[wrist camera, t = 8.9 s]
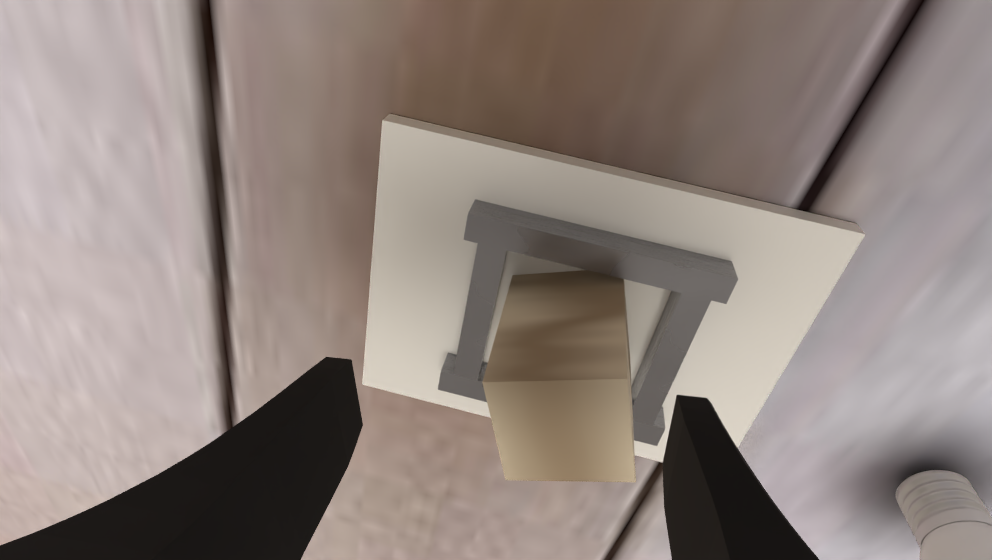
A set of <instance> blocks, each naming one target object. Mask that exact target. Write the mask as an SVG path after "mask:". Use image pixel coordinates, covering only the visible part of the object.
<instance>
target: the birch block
mask: <svg viewBox="0 0 992 560" xmlns="http://www.w3.org/2000/svg"><path fill="white" fill-rule="evenodd" d="M482 383H483V387H484V391H485V396H486V400H487V404H488V408H489V412H490V417H491V421H492V425H493V429H494V433H495V438H496V442H497V446H498V450H499V454H500V459H501V463H502V467H503V471H504V475H505V480H529V481H593V482H636V476H635V454H634V432H633V410H632V388H631V367H630V350H629V337H628V323H627V310H626V297H625V284H624V279H621V278H617V277H613V276H609V275H605V274H601V273H597V272H593V271H589V270H581V271H567V272H552V273H537V274H523V275H513V276H512V279H511V283H510V286H509V290H508V293H507V297H506V300H505V304H504V307H503V311H502V315H501V318H500V322H499V325H498V329H497V332H496V336H495V339H494V343H493V346H492V350H491V353H490V357H489V360H488V364H487V368H486V371H485V375H484V378H483V382H482Z"/></svg>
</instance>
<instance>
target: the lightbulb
mask: <svg viewBox="0 0 992 560" xmlns="http://www.w3.org/2000/svg"><path fill="white" fill-rule="evenodd" d="M895 496H896V500H897V502H898V505H899V507H900V509H901V510H902V512H903V515H904V517H905V518H906V519H907V523H908V525H909V527H910V528H911V529H912V533H913V535H914V536H915V538H916V541H917V543H918V545H919V547H920V560H992V517H991V516H990V513H989V511H988V510H987V508H986V507H985V506H984V504H983V502H982V500H981V499H980V498H979V497H978V495H977V493H976V491H975V490H974V489H973V488H972V485H971V483H970V482H969V481H968V479H966V478H965V477H964V476H962V475H960V474H958V473H955V472H952V471H946V470H929V471H924V472H920V473H917V474H914V475H912V476H910V477H908V478H907V479H905V480H904V481H903V482H902V483H901V484H900V485H899V487H898V488H897V490H896V495H895Z"/></svg>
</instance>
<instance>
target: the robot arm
mask: <svg viewBox="0 0 992 560" xmlns="http://www.w3.org/2000/svg"><path fill="white" fill-rule="evenodd" d="M362 426H363V423H362V418H361V412H360V406H359V400H358V394H357V389H356V383H355V377H354V371H353V366H352V360H350V359H341V358H332V357H326V358H324V359H323V360H322V361H320V362H319V363H318V364H316V365H315V366H314V367H312V368H311V369H310V370H308V371H307V372H306V373H305V374H303V375H302V376H301V377H300V378H298V379H297V380H296V381H294V382H293V383H292V384H291V385H289V386H288V387H287V388H285V389H284V390H283V391H282V392H280V393H279V394H278V395H276V396H275V397H274V398H272V399H271V400H270V401H268V402H267V403H266V404H264V405H263V406H262V407H261V408H259V409H258V410H257V411H255V412H254V413H253V414H251V415H250V416H248V417H247V418H245V419H244V420H243V421H241V422H240V423H238V424H237V425H235V426H234V427H232V428H231V429H230V430H228V431H227V432H225V433H224V434H222V435H221V436H220V437H218V438H217V439H215V440H214V441H212V442H211V443H209V444H208V445H206V446H205V447H203V448H202V449H200V450H198V451H197V452H195V453H194V454H192V455H190V456H189V457H187V458H185V459H184V460H182V461H180V462H178V463H177V464H175V465H173V466H172V467H170V468H168V469H167V470H165V471H163V472H161V473H160V474H158V475H156V476H154V477H152V478H150V479H148V480H146V481H144V482H142V483H140V484H139V485H137V486H135V487H133V488H131V489H129V490H127V491H125V492H123V493H121V494H119V495H117V496H115V497H113V498H111V499H110V500H107V501H105V502H103V503H101V504H99V505H97V506H95V507H92V508H90V509H88V510H86V511H84V512H82V513H79V514H77V515H75V516H73V517H70V518H68V519H66V520H63V521H61V522H59V523H56V524H54V525H52V526H49V527H47V528H45V529H42V530H40V531H37V532H35V533H32V534H30V535H27V536H24V537H22V538H19V539H16V540H14V541H11V542H8V543H6V544H3V545H1V546H0V560H301V558H302V556H303V553H304V551H305V550H306V548H307V546H308V544H309V542H310V540H311V538H312V536H313V534H314V532H315V530H316V528H317V526H318V524H319V522H320V520H321V518H322V516H323V515H324V513H325V511H326V509H327V507H328V505H329V503H330V501H331V499H332V497H333V495H334V493H335V491H336V489H337V487H338V485H339V483H340V481H341V479H342V477H343V475H344V473H345V471H346V469H347V467H348V465H349V462H350V460H351V457H352V454H353V452H354V449H355V446H356V443H357V440H358V437H359V435H360V432H361V429H362ZM663 487H664V509H665V516H666V523H667V529H668V536H669V543H670V549H671V556H672V560H819V559H818V557H817V556H816V555H815V554H814V553H813V552H812V550H811V549H810V548H809V547H808V546H807V544H806V543H805V542H804V541H803V540H802V538H801V537H800V536H799V535H798V533H797V532H796V531H795V530H794V528H793V527H792V526H791V524H790V523H789V522H788V520H787V519H786V518H785V516H784V515H783V514H782V513H781V511H780V510H779V509H778V507H777V506H776V505H775V503H774V502H773V500H772V499H771V498H770V496H769V495H768V493H767V492H766V491H765V489H764V488H763V486H762V485H761V483H760V482H759V480H758V479H757V477H756V476H755V474H754V473H753V471H752V470H751V468H750V467H749V465H748V464H747V462H746V461H745V459H744V458H743V456H742V455H741V453H740V451H739V450H738V448H737V447H736V445H735V443H734V442H733V440H732V438H731V437H730V435H729V433H728V432H727V430H726V428H725V427H724V425H723V423H722V421H721V420H720V418H719V416H718V414H717V412H716V411H715V409H714V407H713V405H712V403H711V402H710V401H709V400H708V398H704V397H694V396H685V395H677V396H676V401H675V405H674V410H673V415H672V420H671V425H670V430H669V434H668V439H667V444H666V449H665V454H664V459H663Z"/></svg>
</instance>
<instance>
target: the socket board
mask: <svg viewBox="0 0 992 560" xmlns="http://www.w3.org/2000/svg"><path fill="white" fill-rule="evenodd" d="M864 236H865V233H864V232H863V231H862V230H861V228H860V227H859V226H858V225H857V224H856V223H852V222H847V221H843V220H839V219H835V218H830V217H826V216H822V215H818V214H813V213H809V212H805V211H801V210H797V209H792V208H788V207H784V206H780V205H775V204H771V203H767V202H763V201H758V200H754V199H750V198H746V197H741V196H737V195H733V194H729V193H724V192H720V191H716V190H712V189H707V188H703V187H699V186H695V185H691V184H686V183H682V182H678V181H674V180H669V179H665V178H661V177H657V176H652V175H648V174H644V173H640V172H635V171H631V170H627V169H623V168H618V167H614V166H610V165H606V164H601V163H597V162H593V161H589V160H585V159H580V158H576V157H572V156H568V155H563V154H559V153H555V152H551V151H546V150H542V149H538V148H534V147H529V146H525V145H521V144H517V143H512V142H508V141H504V140H500V139H495V138H491V137H487V136H483V135H479V134H474V133H470V132H466V131H462V130H457V129H453V128H449V127H445V126H440V125H436V124H432V123H428V122H423V121H419V120H415V119H411V118H406V117H402V116H398V115H394V114H389V115H388V116H387V117H386V118H384V119H383V120H382V132H381V145H380V158H379V171H378V184H377V198H376V211H375V224H374V237H373V250H372V264H371V277H370V290H369V303H368V317H367V330H366V343H365V356H364V369H363V383H362V385H366V386H370V387H374V388H378V389H382V390H386V391H389V392H393V393H397V394H401V395H405V396H409V397H413V398H416V399H420V400H424V401H428V402H432V403H436V404H440V405H443V406H447V407H451V408H455V409H459V410H463V411H467V412H470V413H474V414H478V415H482V416H486V417H490V412H489V408H488V404H487V400H486V396H485V391H484V387H483V383H482V382H483V378H484V375H485V371H486V368H487V364H488V360H489V357H490V353H491V350H492V346H493V343H494V339H495V336H496V332H497V329H498V325H499V322H500V318H501V315H502V311H503V307H504V304H505V300H506V297H507V293H508V290H509V286H510V283H511V279H512V276H513V275H523V274H537V273H552V272H567V271H581V270H589V271H593V272H597V273H601V274H605V275H609V276H613V277H617V278H621V279H624V284H625V297H626V310H627V323H628V337H629V350H630V367H631V388H632V410H633V432H634V454H635V455H636V456H640V457H644V458H648V459H652V460H656V461H660V462H663V459H664V454H665V449H666V444H667V439H668V434H669V430H670V425H671V420H672V415H673V410H674V405H675V401H676V396H677V395H685V396H694V397H704V398H708V400H709V401H710V402H711V403H712V405H713V407H714V409H715V411H716V412H717V414H718V416H719V418H720V420H721V421H722V423H723V425H724V427H725V428H726V430H727V432H728V433H729V435H730V437H731V438H732V440H733V442H734V443H735V445H736V447H737V448H738V446H739V445H740V443H741V441H742V440H743V438H744V436H745V435H746V433H747V431H748V430H749V428H750V426H751V425H752V423H753V421H754V420H755V418H756V416H757V415H758V413H759V411H760V410H761V408H762V406H763V405H764V403H765V401H766V400H767V398H768V396H769V395H770V393H771V391H772V390H773V388H774V386H775V385H776V383H777V381H778V380H779V378H780V376H781V375H782V373H783V371H784V370H785V368H786V366H787V365H788V363H789V361H790V360H791V358H792V356H793V355H794V353H795V351H796V350H797V348H798V346H799V345H800V343H801V341H802V340H803V338H804V336H805V335H806V333H807V331H808V330H809V328H810V326H811V325H812V323H813V321H814V320H815V318H816V316H817V315H818V313H819V311H820V310H821V308H822V306H823V305H824V303H825V301H826V300H827V298H828V296H829V295H830V293H831V291H832V290H833V288H834V286H835V285H836V283H837V281H838V280H839V278H840V276H841V275H842V273H843V271H844V270H845V268H846V266H847V265H848V263H849V261H850V260H851V258H852V256H853V254H854V253H855V251H856V249H857V248H858V246H859V244H860V243H861V241H862V239H863V238H864ZM490 418H491V417H490Z"/></svg>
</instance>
